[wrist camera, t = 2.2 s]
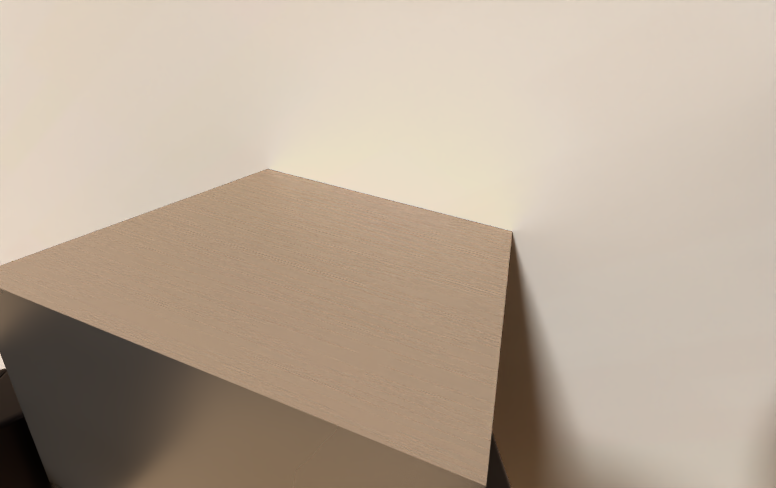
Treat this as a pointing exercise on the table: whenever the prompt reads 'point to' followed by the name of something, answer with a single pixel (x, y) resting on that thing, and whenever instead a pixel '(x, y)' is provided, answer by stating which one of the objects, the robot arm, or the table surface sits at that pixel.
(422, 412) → the support block
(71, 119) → the table surface
